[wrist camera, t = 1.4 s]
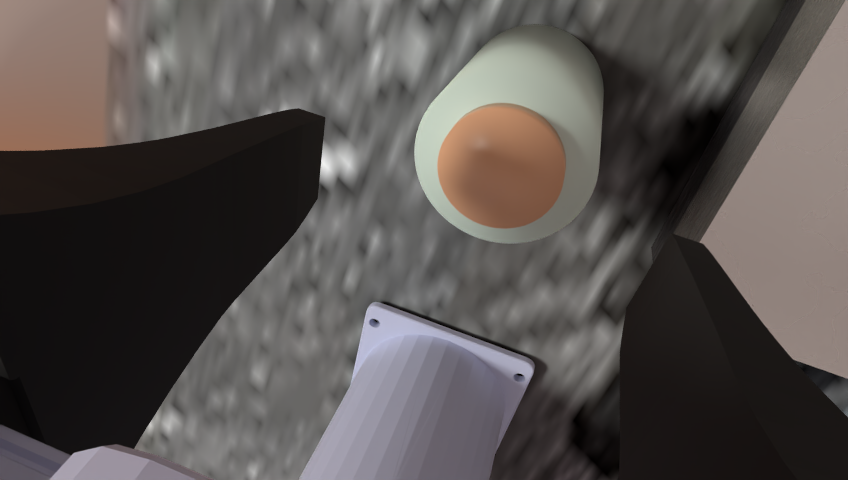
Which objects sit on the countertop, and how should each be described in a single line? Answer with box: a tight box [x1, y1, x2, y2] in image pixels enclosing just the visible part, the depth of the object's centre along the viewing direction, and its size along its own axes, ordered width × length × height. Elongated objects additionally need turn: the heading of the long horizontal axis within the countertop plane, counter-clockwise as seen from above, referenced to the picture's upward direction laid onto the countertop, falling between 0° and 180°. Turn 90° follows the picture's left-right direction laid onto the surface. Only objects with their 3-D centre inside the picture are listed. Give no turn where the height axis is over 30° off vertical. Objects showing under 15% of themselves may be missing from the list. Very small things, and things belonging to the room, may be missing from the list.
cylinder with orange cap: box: [415, 24, 604, 244], centre depth 17 cm, size 5×5×7 cm
